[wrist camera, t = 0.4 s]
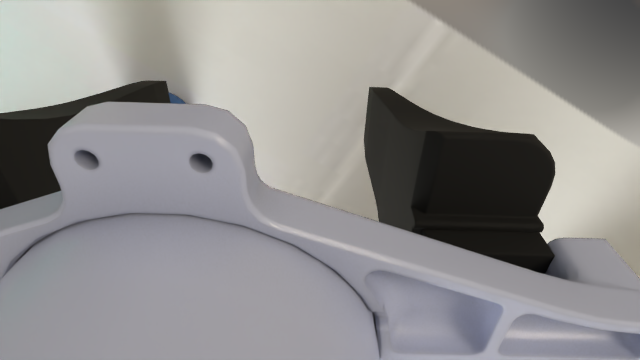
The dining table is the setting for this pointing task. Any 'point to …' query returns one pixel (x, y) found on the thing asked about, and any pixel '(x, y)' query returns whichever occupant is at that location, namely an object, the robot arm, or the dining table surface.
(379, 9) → the dining table surface
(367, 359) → the robot arm
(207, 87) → the dining table surface
